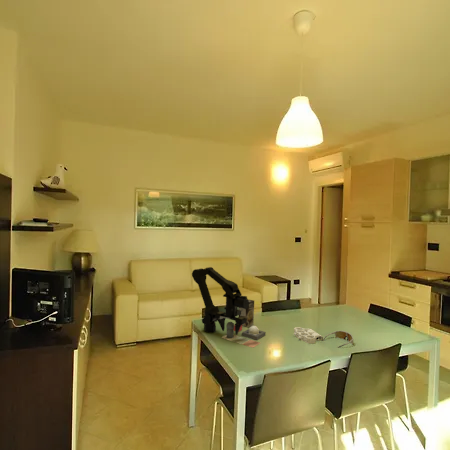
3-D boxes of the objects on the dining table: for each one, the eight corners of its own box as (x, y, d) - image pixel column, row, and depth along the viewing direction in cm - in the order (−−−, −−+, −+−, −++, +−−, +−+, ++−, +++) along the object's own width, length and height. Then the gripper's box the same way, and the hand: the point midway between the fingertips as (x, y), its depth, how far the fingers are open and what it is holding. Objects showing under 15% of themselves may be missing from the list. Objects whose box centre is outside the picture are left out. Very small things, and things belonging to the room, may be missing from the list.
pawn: (224, 336, 175) (224, 321, 175) (229, 334, 179) (229, 320, 178) (230, 339, 172) (231, 323, 172) (235, 336, 176) (236, 322, 175)
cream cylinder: (246, 336, 178) (246, 326, 178) (251, 333, 183) (252, 323, 183) (255, 338, 175) (255, 328, 175) (260, 335, 180) (261, 325, 179)
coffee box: (246, 328, 193) (247, 303, 193) (237, 326, 197) (238, 301, 196) (253, 325, 200) (254, 300, 200) (245, 322, 204) (246, 298, 204)
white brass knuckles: (326, 343, 175) (303, 345, 171) (309, 331, 192) (288, 333, 189) (326, 337, 175) (303, 339, 171) (309, 326, 192) (288, 327, 189)
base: (241, 337, 178) (241, 332, 178) (250, 332, 186) (250, 328, 186) (256, 342, 172) (256, 336, 172) (265, 337, 180) (265, 331, 180)
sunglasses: (358, 344, 174) (357, 336, 173) (340, 353, 167) (339, 344, 166) (338, 336, 186) (337, 328, 186) (320, 343, 179) (319, 335, 179)
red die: (232, 332, 186) (232, 325, 186) (236, 330, 189) (236, 323, 189) (238, 333, 184) (238, 326, 184) (241, 331, 187) (242, 325, 187)
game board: (219, 339, 174) (219, 337, 173) (229, 334, 182) (229, 332, 182) (252, 350, 161) (252, 348, 161) (262, 344, 169) (262, 342, 169)
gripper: (252, 305, 176) (251, 332, 176) (225, 299, 187) (224, 325, 187) (241, 309, 167) (240, 338, 167) (214, 303, 178) (213, 330, 178)
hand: (229, 332), depth 175 cm, fingers open, 9 cm apart
